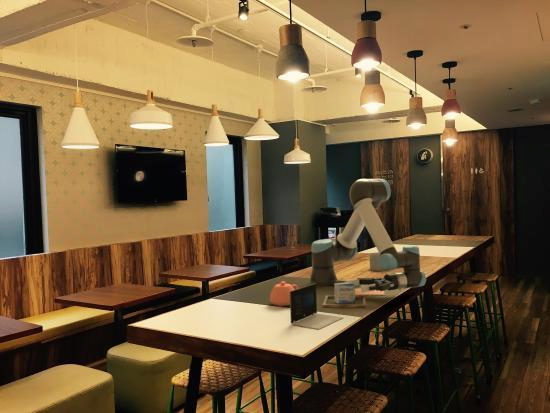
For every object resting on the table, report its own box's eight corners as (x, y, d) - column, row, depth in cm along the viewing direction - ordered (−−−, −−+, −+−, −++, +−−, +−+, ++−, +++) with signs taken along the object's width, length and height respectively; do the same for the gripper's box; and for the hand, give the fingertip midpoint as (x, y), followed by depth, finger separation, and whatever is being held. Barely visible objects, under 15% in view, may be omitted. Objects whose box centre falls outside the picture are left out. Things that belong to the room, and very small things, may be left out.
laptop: (318, 331, 164) (317, 294, 164) (290, 326, 171) (289, 291, 171) (343, 319, 178) (342, 285, 178) (316, 315, 186) (315, 283, 185)
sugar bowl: (266, 303, 208) (265, 280, 207) (294, 299, 213) (293, 277, 212) (275, 309, 196) (274, 285, 196) (305, 305, 201) (304, 282, 201)
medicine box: (338, 304, 200) (337, 284, 200) (334, 302, 204) (333, 282, 204) (355, 302, 202) (354, 283, 202) (350, 300, 207) (350, 281, 206)
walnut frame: (322, 307, 196) (322, 304, 196) (326, 297, 214) (326, 295, 214) (365, 307, 193) (365, 305, 193) (365, 297, 211) (365, 295, 211)
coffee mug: (367, 270, 285) (366, 254, 285) (373, 267, 293) (373, 252, 293) (388, 271, 277) (387, 255, 277) (393, 268, 286) (393, 253, 285)
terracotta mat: (354, 295, 216) (354, 294, 216) (354, 289, 230) (354, 288, 230) (384, 295, 214) (384, 294, 214) (383, 289, 228) (383, 288, 227)
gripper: (411, 294, 200) (369, 300, 192) (379, 284, 223) (340, 289, 216) (410, 277, 199) (368, 282, 192) (379, 269, 223) (340, 273, 216)
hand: (353, 286), depth 204 cm, fingers open, 13 cm apart
